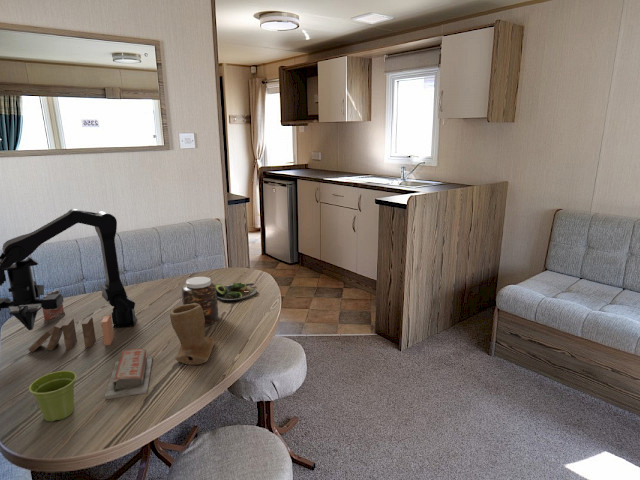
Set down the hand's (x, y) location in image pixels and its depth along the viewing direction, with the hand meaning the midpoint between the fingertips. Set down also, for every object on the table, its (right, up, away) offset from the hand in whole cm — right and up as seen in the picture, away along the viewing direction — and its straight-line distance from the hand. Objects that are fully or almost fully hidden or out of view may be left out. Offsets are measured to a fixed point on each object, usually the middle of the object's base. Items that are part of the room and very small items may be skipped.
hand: (30, 329), depth 128 cm
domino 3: (+10, -6, +4) cm, 12 cm away
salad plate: (+52, +4, +45) cm, 69 cm away
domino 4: (+16, -5, +5) cm, 17 cm away
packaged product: (+37, -11, -14) cm, 41 cm away
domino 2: (+5, -6, +3) cm, 8 cm away
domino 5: (+21, -5, +6) cm, 22 cm away
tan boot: (+50, -7, -2) cm, 51 cm away
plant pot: (+27, -14, -29) cm, 41 cm away
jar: (+46, -1, +21) cm, 51 cm away
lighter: (-7, -1, +23) cm, 24 cm away
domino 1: (0, -6, +1) cm, 6 cm away
